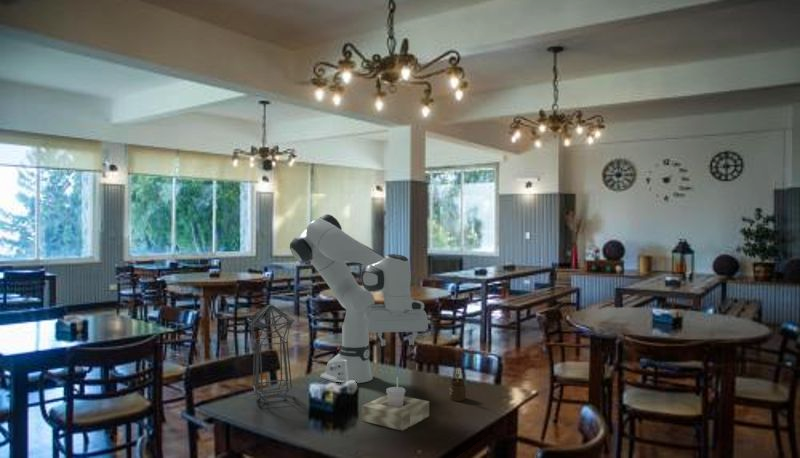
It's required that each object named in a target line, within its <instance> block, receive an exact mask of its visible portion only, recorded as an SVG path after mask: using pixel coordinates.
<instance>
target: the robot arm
mask: <svg viewBox="0 0 800 458" xmlns="http://www.w3.org/2000/svg"><path fill="white" fill-rule="evenodd" d="M289 250H290V253H291V254H292V256H293V257H294V258H295V259H296V260H298V261H299V262H300V263H304V264H306V263H308V262H311V264H312V265H313V268H314V269H315V270H316V271H317V273H318V274H319V275H320V277H321V278H322V279H323V280H324V282H325V283H326V284H327V286H328V287H329V289H330V290H331V292H332V294H333V296H334V297H335V299H336V301H338V304H340V306H341V307H342V308H344V309H345V316H344V320H343V324H342V326H341V330H342V331H341V334H342V335H341V336H342V337H341V339H342V343H341V345H340V346H338V347H337V349H336V350H339V351H338V353H337V355H335V356H334V357H332V358H331V359H330V360H328V361H327V364H326V368H325V371H324V372H322V373H321V374H320V376H319V377H320V378H321V379H324V380H328V381H331V382H333V383H336V382H345V381H347V380H355V381H357V383H356V384H360V383H361V384H363V383H366V382H371V381H372V380H373V378H374V377H373V375H372V369H371V365H370V364H371V363H370V356H371V355H370V353H371V347H370V342H369V341H370V340H369V338H370V336H369V335H370V334H369V333H372V334H373V333H374V334H375V333H377V337H378V338H379V340H380V345H381V347H386V346H387V345H386V343H387V341H386V339H384V338H383V337H382V336H383V333H404V332H405V333H408V332H409V333H410V332H411V333H412V335H413V336H412V337H411V338H409V339H408V345H409V346H415V340H416V339H417V336H418V332H427V331H428V329H429V321H428V315H427V312H426V311H425V310H424V309H425V304H424V302H422V301H421V300H418V299H416V298H412V297H411V295H412V294H411V289H410V288H411V287H410V286H411V282H412V279H411V278H412V275H411V274H412V273H411V263H410V260H409V259H408V257H406V256H405V255H402V254H397V253H394V254H393V253H391V254H387V255H386V256H384V255H382V254H381V253H379V252H377V251H375V250H374V249H372V248H371V247H369V246H367V245H365V244H363V243H362V242H360V241H359V240H357V239H355V238H353V237H352V236H350V235H349V234H348V233H347V232H345V231H343V230H342V225H341V224H340V222H339V220H338V219H337V218H336V217H335V216H334V215H332V214H327V213H326V214H325V215H322V216H320V217H319V218H317V219H313V220H311V222H310V223H309V224H308V225H307V227H306V228H305V229H304V230H302V231H301V232H300V233H299V234H298V235H297V236H296V237H294V238H293V240H291V242H290V244H289ZM346 262H348V263H349V262H350V263H358V264H361V265H363V266H364V267H363V269H362V271H361V274H360V275H361V276H360V282H361V284H362V286H361V285H359V283H358V282H357V280H356V279H355V277H354V276H353V273H352V271H351V269H350V267H349V266H348V265H347V263H346ZM379 292H383V297H384V298H383V299H384V301H383V302H384V303H375V302H376V301H375V297H374V294H373V293H379Z"/></svg>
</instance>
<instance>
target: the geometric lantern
mask: <svg viewBox="0 0 800 458" xmlns="http://www.w3.org/2000/svg"><path fill="white" fill-rule="evenodd" d="M274 312H276V313H277V315H275V314H274ZM265 313H266V315H265ZM270 313H271V317H270ZM278 314H279V315H278ZM264 315H265V317H264ZM275 318H277V319H275ZM282 318H284V319H285V320H286V321H284V322H279V323H277V322H278V321H279V320H280V319H282ZM245 320H246V321H247V324H248V326H249V330H250V331H251V334H252V336H253V362H252V363H253V370H252V387H253V390H254V393H255V394H256V395H257V396H259V400H261V402H262V403H263V404H269V403H276V401H277V402H284V400H285V401H286V400H287V393H288V392H289V391H290V390H291V389H293V383H292V374H291V363H290V352H289V351H290V350H289V343H288V342H289V341H288V340H289V334H290V333H289V331H290V329H291V326H292V325H293V323H294V322H295V320H294V319H293V318H291V317H290V316H289V315H288V314H287V313H285V312H284V311H282V310H280V309H279V308H278V307H276V306H274V305H273V304H268V305H265V306H264V307H262V308H261V309H259V310H257V311H256V312H255V313H253V314H252V315H250V316H248V317H247V318H246V319H245ZM260 320H264V323H263V322H261V321H260ZM270 320H272V323H271V324H269V321H270ZM280 325H282V326H280ZM277 326H280V327H279V328H278V329H277ZM254 327H256V328H258V329H260V330H261V331H260V333H259V335H258V337H256V333H255V331H254ZM265 327H266V330H265ZM269 327H273V328H274V330H272V331H270V330H269ZM284 327H286V329H285V331H284V333H283V336H282V334H281V333H280V332H279V331H280V330H281V329H283V328H284ZM263 332H264V333H266V335H265V337H261V336H262V333H263ZM274 333H276V334H277V335H276V336H270V337H269V336H268V335H269V334H274ZM286 335H287V337H286ZM274 338H275V339H276V338H279V342H274V343H273V342H272V343H264V344H263V342H264V341H265V339H274ZM260 340H262V341H261V343H260ZM269 345H270V346H272V345H279V352H280V353H279V355H280V379H278V380H277V379H276V380H268V381H263V365H262V364H263V363H262V362H263V361H262V346H269ZM282 352H283V354H282ZM282 356H283V358H282ZM283 362H284V373H285V374H284V375H285V377H284V378H285V379H283ZM259 370H260V371H259ZM259 373H260V374H259ZM259 375H260V379H259ZM259 380H260V382H259ZM277 382H279V387H278V388H272V389H267V390H264V387H263V385H264V384H269V383H277ZM282 382H285V383H284V384H283V385H282V386H281V384H282ZM285 386H286V388H285V389H283V388H284V387H285ZM278 394H279V395H278ZM270 395H271V396H270ZM274 397H283V399H278V400H271V401H270V400H269V401H268V398H274Z"/></svg>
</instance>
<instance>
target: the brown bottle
mask: <svg viewBox="0 0 800 458" xmlns="http://www.w3.org/2000/svg"><path fill="white" fill-rule="evenodd" d="M461 371H462V370H461V368H458V367H457V368H455V369H454V375H455V378H451V379H450V384H449V389H448V390H449V399H450V401H453V402H455V401H456V402H462V401H464V400H465V399H466V395H467V394H466V385H465V383H466V382H465V379H463V378H461ZM465 401H466V400H465Z"/></svg>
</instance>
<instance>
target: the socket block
mask: <svg viewBox="0 0 800 458" xmlns="http://www.w3.org/2000/svg"><path fill="white" fill-rule="evenodd" d="M428 417H430V401H428V400H426V399H425V400H424V399H419V398H415V397H410V396H405V395H404V401H403V407H401V408H394V407H390V406H389V404H388V395H387V394H385V395H383V396H381V397H378V398H376V399H374V400H372V401H369V402H367V403H365V404H362V405H361V421H362V422H366V423H370V424H374V425H379V426H381V427H386V428H390V429H393V430H398V431H405V430H407V429H409V428H410V427H412V426H414V425H416V424H418V423H419V422H422V421H423V420H425V419H427V418H428ZM408 427H409V428H408Z"/></svg>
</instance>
